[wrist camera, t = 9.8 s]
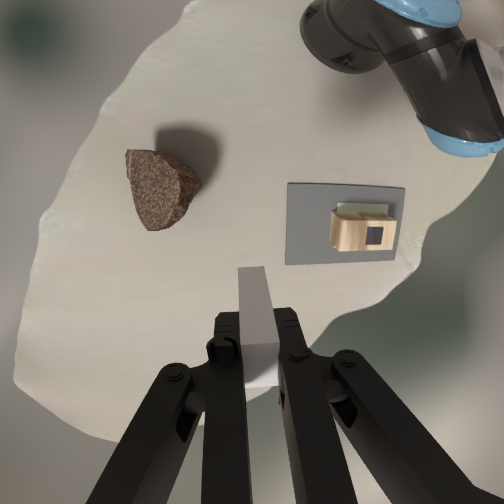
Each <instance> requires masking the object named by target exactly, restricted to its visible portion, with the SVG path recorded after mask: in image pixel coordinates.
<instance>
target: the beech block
mask: <svg viewBox="0 0 504 504" xmlns="http://www.w3.org/2000/svg"><path fill="white" fill-rule="evenodd" d="M396 224H397V221H396V220H394V219H393V218H391V217H389V216H388V215H386V214H384V213H380V212H331V224H330V236H329V240H330V242H331V243H332V244H333V245H334V246H335V248H336V249H337V250H338V251H368V250H392V248H393V242H394V236H395V230H396Z"/></svg>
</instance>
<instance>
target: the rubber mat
mask: <svg viewBox="0 0 504 504" xmlns="http://www.w3.org/2000/svg"><path fill="white" fill-rule="evenodd" d="M404 197H405V189H401V188H388V187H374V186H357V185H334V184H287V221H286V251H285V265H304V264H327V263H349V262H369V261H388V260H395V255H396V250H397V244H398V239H399V233H400V227H401V220H402V213H403V206H404ZM331 212H380V213H384V214H386V215H388V216H389V217H391V218H393V219H394V220H396V221H397V224H396V230H395V236H394V242H393V248H392V250H368V251H338V250H337V249H336V248H335V246H334V245H333V244H332V243H331V242H330V240H329V236H330V224H331Z"/></svg>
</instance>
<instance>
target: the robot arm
mask: <svg viewBox="0 0 504 504" xmlns="http://www.w3.org/2000/svg"><path fill="white" fill-rule="evenodd" d="M458 4H459V0H315V1H314V2H312V3H311V4H310V5H309V6H308V7H307V8H306V10H305V12H304V13H303V15H302V17H301V21H300V32H301V36H302V39H303V41H304V43H305V45H306V47H307V48H308V49H309V51H310V52H311V53H312V54H313V55H314V56H315V57H316V58H317V59H318V60H319V61H321V62H322V63H323V64H325V65H327V66H328V67H330V68H332V69H335V70H337V71H340V72H344V73H349V74H360V73H365V72H368V71H370V70H373V69H375V68H377V67H378V66H380V65H381V64H382V63H383V62H384V61H385V59H386V61H387V62H388V64H389V66H390V67H391V69H392V70H393V72H394V74H395V75H396V77H397V79H398V80H399V82H400V84H401V86H402V87H403V89H404V91H405V93H406V95H407V96H408V98H409V100H410V102H411V104H412V106H413V108H414V110H415V112H416V114H417V115H416V116H417V118H418V121H419V122H420V123H421V124H422V125H423V127H424V129H425V131H426V133H427V135H428V137H429V139H430V141H431V142H432V143H433V145H435V146H436V147H437V148H438V149H439V150H441V151H443V152H445V153H448V154H450V155H454V156H459V157H482V156H487V155H488V153H496V152H498V151H500V150H501V149H502V148H503V147H504V47H494V46H492V45H491V44H489V43H487V42H486V41H484V40H482V39H481V38H476V39H472V40H469V41H468V40H466V38H465V37H464V35H463V33H462V32H461V30H460V28H459V27H458V25H457V24H458V22H459V21H460V19H461V16H462V10H461V7H460V6H459V5H458ZM238 284H239V312H220V313H219V314H218V316H217V317H216V318H215V327H214V338H212V339H211V340H210V341H209V342H208V343H207V346H206V348H207V353H208V359H209V360H208V361H207V362H206V363H204V364H203V365H200V366H197V367H193V368H189V367H188V366H187V365H185V364H182V363H171V364H168V365H166V366H164V367H163V368H162V369H161V370H160V372H159V374H158V375H157V377H156V379H155V380H154V382H153V384H152V386H151V387H150V389H149V391H148V393H147V394H146V396H145V398H144V399H143V401H142V403H141V405H140V406H139V408H138V410H137V412H136V413H135V415H134V417H133V419H132V420H131V422H130V424H129V426H128V428H127V429H126V431H125V433H124V435H123V436H122V438H121V440H120V442H119V444H118V445H117V447H116V449H115V451H114V453H113V454H112V456H111V458H110V460H109V461H108V463H107V465H106V467H105V469H104V471H103V472H102V474H101V476H100V478H99V480H98V482H97V484H96V485H95V487H94V489H93V491H92V493H91V495H90V496H89V498H88V500H87V502H86V504H166V503H167V501H168V498H169V495H170V493H171V491H172V488H173V486H174V483H175V480H176V478H177V476H178V473H179V471H180V468H181V465H182V463H183V460H184V458H185V455H186V453H187V450H188V448H189V445H190V443H191V440H192V438H193V435H194V432H195V430H196V427H197V425H198V422H199V420H200V417H201V415H202V412H204V411H205V424H204V442H203V462H202V487H201V488H202V489H201V504H253V499H252V486H251V472H250V457H249V442H248V428H247V427H248V426H247V410H246V395H245V388H254V387H267V386H277V385H278V382H279V388H280V389H279V404H281V409H282V416H283V423H284V429H285V435H286V441H287V448H288V454H289V460H290V467H291V473H292V480H293V486H294V493H295V499H296V504H358V502H357V498H356V495H355V491H354V487H353V484H352V480H351V477H350V473H349V469H348V466H347V462H346V459H345V456H344V452H343V449H342V445H341V442H340V438H339V435H338V432H337V428H336V425H335V421H334V418H335V420H336V421H337V423H338V424H339V426H340V427H341V429H342V430H343V432H344V433H345V435H346V436H347V438H348V439H349V441H350V442H351V444H352V445H353V447H354V449H355V450H356V451H357V453H358V454H359V456H360V458H361V459H362V461H363V462H364V464H365V465H366V466H367V468H368V469H369V471H370V472H371V474H372V475H373V477H374V478H375V480H376V481H377V483H378V484H379V486H380V487H381V489H382V490H383V491H384V493H385V494H386V496H387V497H388V499H389V500H390V502H391V503H392V504H504V499H502V498H500V497H498V496H495V495H493V494H491V493H489V492H486V491H484V490H481V489H479V488H478V487H475V486H474V485H473V484H472V483H471V481H470V480H469V479H468V478H467V477H466V475H465V474H464V473H463V472H462V471H461V469H460V468H459V467H458V466H457V465H456V464H455V463H454V461H453V460H452V459H451V458H450V456H449V455H448V454H447V453H446V452H445V451H444V449H443V448H442V447H441V446H440V445H439V443H437V441H436V440H435V439H434V438H433V437H432V435H431V434H430V433H429V432H428V431H427V430H426V428H425V427H424V426H423V425H422V424H421V422H420V421H419V420H418V419H417V418H416V417H415V415H414V414H413V413H412V412H411V411H410V410H409V409H408V407H407V406H406V405H405V404H404V403H403V402H402V401H401V399H400V398H399V397H398V396H397V395H396V394H395V393H394V391H393V390H392V389H391V388H390V387H389V386H388V385H387V383H386V382H385V381H384V380H383V379H382V378H381V377H380V375H379V374H378V373H377V372H376V371H375V370H374V369H373V368H372V366H371V365H370V364H369V363H368V362H367V361H366V360H365V359H364V357H363V356H362V355H361V354H359V353H358V352H356V351H354V350H347V349H346V350H340V351H339V352H337V353H336V354H335V355H334V356H333V357H324V356H319V355H316V354H314V353H313V352H312V351H311V350H310V349H309V348H308V347H307V345H306V342H305V339H304V336H303V333H302V329H301V326H300V323H299V321H298V317H297V314H296V312H295V311H294V310H293V309H292V308H290V307H287V308H274V309H273V307H272V302H271V298H270V293H269V288H268V283H267V279H266V274H265V269H264V266H260V267H243V268H238ZM333 416H334V418H333Z"/></svg>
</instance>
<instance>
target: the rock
mask: <svg viewBox="0 0 504 504" xmlns="http://www.w3.org/2000/svg"><path fill="white" fill-rule="evenodd" d="M125 158H126V166H127V177H128V178H129V180H130V184H131V190H132V195H133V200H134V204H135V208H136V211H137V214H138V216H139V218H140V220H141V222H142V224H143V225H144V226H145V228H146V229H147V230H148V231H159V230H163V229H166V228H169V227H171V226H173V224H174V223H176V222H178V221H179V220H180V219H181V218H182V217H183V216H184V215H185V213H186V211H187V210H188V206H189V204H190V203H191V202H192V199H193V197H194V195H195V194H196V193H197V191H198V190H199V188H200V187H201V186H202V183H201V181H200V180H199V179H198V178H197V177H196V175H195V173H194V172H193V171H192V170H191V169H189V168H188V167H186V166H185V165H183V164H182V163H181V162H180V161H178V160H176V159H174V158H173V157H171V156H170V155H168V154H167V153H161V152H160V151H151V150H129V149H127V152H126V155H125Z"/></svg>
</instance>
